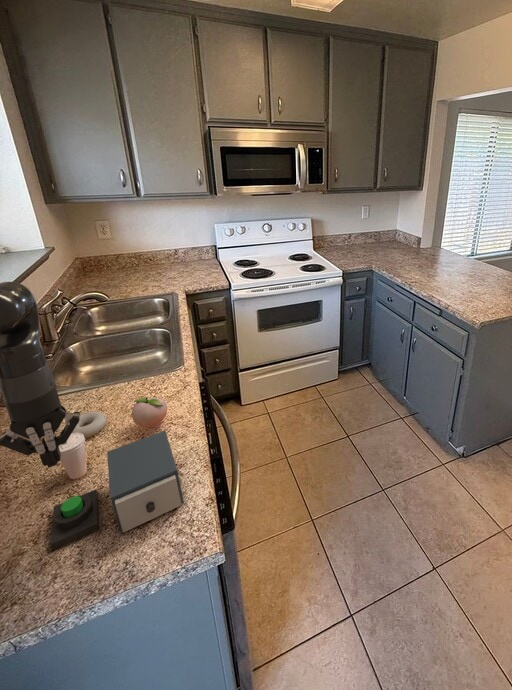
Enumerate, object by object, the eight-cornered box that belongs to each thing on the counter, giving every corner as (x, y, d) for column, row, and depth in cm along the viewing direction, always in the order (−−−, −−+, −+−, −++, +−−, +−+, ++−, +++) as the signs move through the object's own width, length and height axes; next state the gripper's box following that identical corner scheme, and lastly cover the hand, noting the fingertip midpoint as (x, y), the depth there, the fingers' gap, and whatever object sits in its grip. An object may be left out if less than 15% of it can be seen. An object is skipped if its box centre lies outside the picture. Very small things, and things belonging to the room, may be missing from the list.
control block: (99, 529, 74) (95, 517, 73) (52, 550, 70) (47, 538, 69) (98, 494, 82) (94, 483, 81) (55, 512, 78) (51, 500, 77)
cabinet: (183, 502, 80) (177, 469, 77) (120, 532, 74) (110, 498, 71) (171, 460, 92) (165, 430, 88) (115, 483, 85) (107, 451, 82)
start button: (83, 511, 75) (81, 505, 74) (62, 520, 73) (60, 514, 73) (83, 499, 78) (81, 493, 77) (63, 507, 76) (61, 501, 75)
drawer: (182, 509, 77) (177, 482, 75) (123, 537, 72) (115, 509, 69) (170, 464, 89) (164, 439, 87) (118, 486, 84) (111, 459, 81)
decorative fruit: (128, 436, 100) (121, 406, 97) (144, 416, 108) (137, 388, 105) (161, 437, 100) (154, 407, 96) (174, 417, 108) (168, 389, 104)
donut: (72, 448, 97) (112, 428, 103) (68, 438, 95) (109, 419, 102) (63, 431, 103) (101, 413, 110) (59, 421, 102) (98, 404, 109)
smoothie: (57, 485, 85) (40, 438, 80) (70, 464, 91) (56, 419, 86) (86, 481, 86) (71, 434, 81) (97, 461, 92) (84, 416, 87)
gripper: (73, 370, 72) (92, 439, 78) (-13, 390, 66) (14, 465, 71) (71, 388, 66) (91, 462, 72) (-24, 412, 60) (6, 492, 65)
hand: (53, 463), depth 71 cm, fingers closed
